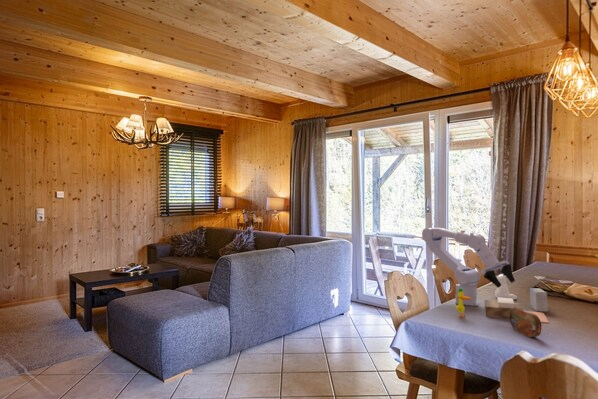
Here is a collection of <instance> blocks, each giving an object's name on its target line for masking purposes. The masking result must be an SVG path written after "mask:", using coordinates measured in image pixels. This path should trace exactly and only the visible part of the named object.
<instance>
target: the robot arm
mask: <svg viewBox="0 0 598 399" xmlns="http://www.w3.org/2000/svg"><path fill="white" fill-rule="evenodd" d="M421 231H422V232H421V240H423V241H424V242H425V243H426V245H427V248H428V249H429V251H430V252H431V253H433V254H434V255H435V256H436V257H437V258H438V259H439V260H441V262H442V263H443V264H445V265H446V266H447V267H448V268H449V269H450V270H452V272H454V274H453V276H454V278H455V279H456V280H457V282H458V283H456V284H455V295H454V297H455V305H458V304H459V300H458V298H457V297H458V291H459V288H462V291H463V296H467V297H470V298H471V299H470V300H463V306H465V305H466V306H474V307H477V306H478V298H477V297H478V292H477V290H478V288H477V287H478V286H477V285H478V282H479V281H480V280H481V276H480V274H481V275H482V276H483V278H484V279H486V280H488V281H489V282H491V283H492V284H493V285H494V286H495V287H496V288H497V287H498V288H499V287H500V286H501V283H500V282H499V280H498V279H497V277H496V276H497V275H496V273H495V271H498V270H500V272H501V273H502V274H503V275H504V276H505V278H507V279H508V281H509V282H510V283H514V282H515V281H516V280H515V277H514V274H513V271H512V265H511V264H510V262H509V261H508V260H504V261H500V260H498V258H497V257H496V256H495V255H494V253H493V252H492V250H491V249H490V247H488V245H487V243H486V238H485V237H484V236H483V235H482V234H476V235H475V233H474V232H466V230H459V231H457V232H456V231H453V230H450V229H447V228H443V227H438V226H437V227H425V228H423V229H422V230H421ZM443 237H445V238H449V239H453V240H455V242H456V243H459V244H463V245H466V246H468V247H469V248H471V249H473V251H474V252H475V253H476V255H478V257H479V259H480V260H481V261H482V263H483V264H484V268H482V269H481V270H480V271H479V272H480V273H479V272H478V271H477V270H475V269H473V268H471V267H470V266H467V265H464V264H462V263H461V262H460V261H459V260H458V258H456V257H455V256H453V255H452V254H451V253H450V252H449V251H447V250H446V249H445V248H444V247H443V246H442V242H443Z"/></svg>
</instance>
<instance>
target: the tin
mask: <svg viewBox="0 0 598 399" xmlns="http://www.w3.org/2000/svg"><path fill="white" fill-rule="evenodd" d="M528 311H529V310H525V309H524V308H522V309H517V308H514V309H512V310H511V312H510V316H509V317H510V318H509V323H510V326H511V327H512V328H513V330H515V331H517V332H518V333H520V334H522V335H524V336H526V337H529V338H537V337H539V336H540V335H541V334H542V323H541V321H540V319H539V318H538V316H537V315H535V314H533V313H530V312H528Z"/></svg>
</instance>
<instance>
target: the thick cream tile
mask: <svg viewBox="0 0 598 399" xmlns="http://www.w3.org/2000/svg"><path fill="white" fill-rule="evenodd" d="M496 298H497V300H496V301H497V302H498V307H504V308H514V301H515V300H513V299H512V298H501V297H496Z"/></svg>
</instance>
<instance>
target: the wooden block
mask: <svg viewBox="0 0 598 399" xmlns="http://www.w3.org/2000/svg"><path fill="white" fill-rule="evenodd" d="M514 308H517V309H523V307H522V304H521V302H514ZM514 308H504V307H498V302H497V300H494V299H493V300H492V299H484V311H485V314H484V315H485V317H491V318H492V317H493V318H500V319H501V318H503V319H510V317H509V316H510V312H511V310H512V309H514Z"/></svg>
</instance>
